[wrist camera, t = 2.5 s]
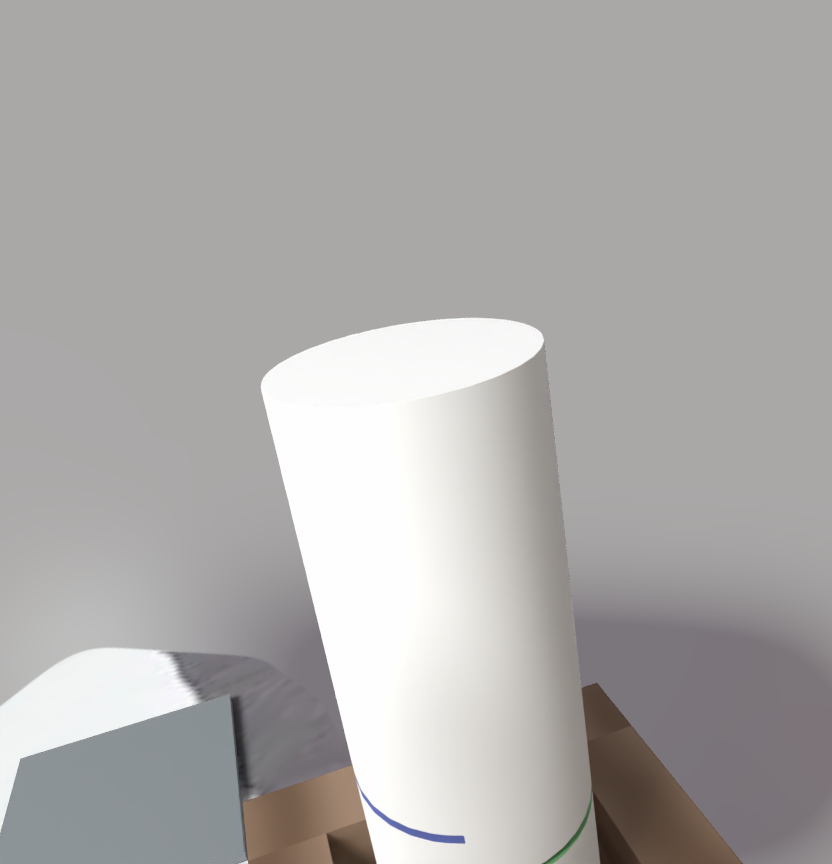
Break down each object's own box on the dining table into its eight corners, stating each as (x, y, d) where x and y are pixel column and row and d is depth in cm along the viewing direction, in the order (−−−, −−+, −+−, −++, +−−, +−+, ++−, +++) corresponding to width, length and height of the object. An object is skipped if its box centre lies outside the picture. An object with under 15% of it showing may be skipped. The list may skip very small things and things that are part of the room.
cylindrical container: (451, 906, 33) (334, 327, 24) (627, 943, 31) (566, 309, 22) (390, 1094, 27) (203, 412, 18) (603, 1161, 24) (505, 402, 16)
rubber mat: (232, 702, 48) (229, 694, 48) (247, 860, 37) (244, 850, 37) (24, 766, 46) (20, 758, 45) (-26, 956, 35) (-31, 946, 35)
